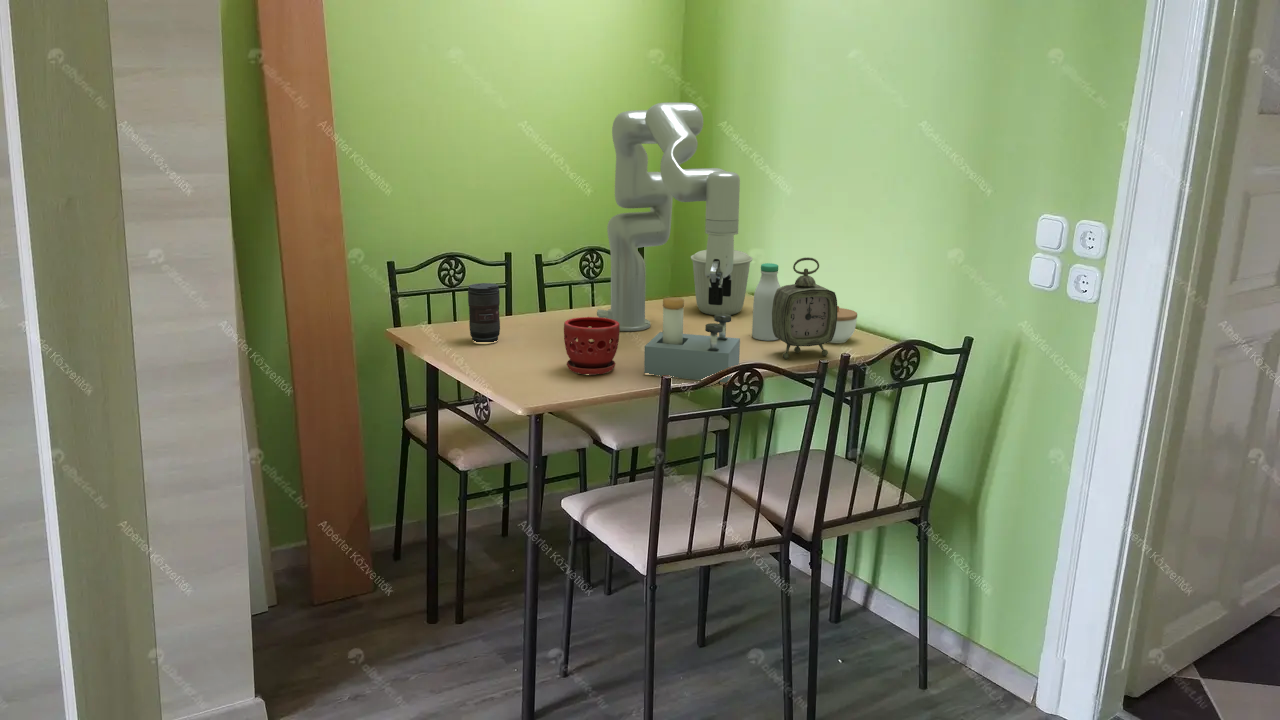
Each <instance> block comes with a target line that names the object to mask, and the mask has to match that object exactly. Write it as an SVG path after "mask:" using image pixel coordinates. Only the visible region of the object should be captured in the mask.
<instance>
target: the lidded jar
mask: <svg viewBox="0 0 1280 720" xmlns="http://www.w3.org/2000/svg"><path fill="white" fill-rule="evenodd" d="M857 318H858V312H856V311H854V310H853V309H849V308H843V307H840V306H839V305H837V323H836V330H835V334H834V337H833V339H832V341H830V342H828V343H829V344H844V343H846V342H847V341H848V340H849V339H850V338H851V337H852V336H853V334H854V332H855V330H856V326H857Z"/></svg>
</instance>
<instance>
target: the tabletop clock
mask: <svg viewBox="0 0 1280 720" xmlns="http://www.w3.org/2000/svg"><path fill="white" fill-rule="evenodd" d="M804 261H812V262H814V263H815V264H816V265H817V267H816V268H815V269H813V270H811V271H810V270H809V269H808V268H804V269H803V271H800V270H797V269H796V265H797V264H799V263H800V262H804ZM792 269H793V271H794V272H795V273H796V274H798V275H799V276H798V277H797V278H796V279H795V282H794V283H792V284H786V285H783V286H780V288H778V289H777V291H776V293H775V296H774V300H773V308H772V328H773V333H774V335H775V337H777V338H778V340H780V341H782V342H783V343H785V344H786V348H785V352H784V353H783V354H782V357H783V359H784V360H786V359H789V358H790V354H789V350H790V348H791V347H794V349H793V351H794V352H795V353H796V354H799V353H800V352H801V347H813V346H819V347H820V349H821V355H822V356H823V357H825V356H826V357H827V356H828V354H829V351H828V350H827V349H825V348H824V345H825V344H828V343H829V342H830V341H832V339H833V337H834V334H835V330H836V323H837V306H838V299H837V294H836V292H835V291H833V290H831V289H828V288H825V286H821V285H819V284H816V280H815V279H814V277H812V276H811V275H812V274H814V273H816V272H817V271H818V270H819V269H820V262H819V261H818V260H817V259H816V258H813V257H802V258H799V259H797V260H796V261H795V262H793V266H792Z"/></svg>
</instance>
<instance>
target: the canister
mask: <svg viewBox="0 0 1280 720" xmlns="http://www.w3.org/2000/svg"><path fill="white" fill-rule="evenodd" d="M706 251H707V249H704V250H699V251H697V252H696V253H694V254H692V255H690V260H691V262H692V267H693V279H694V280H693V281H694V290H695V302H696V306H697V308H698V310H699V311H700V312H701V313H703V314H706V315H711V316H715V315H716V314H729V315H731V316H733V315H736V314H738V313H740V312H741V311H742V309H743V307H744V303H745V297H746V292H747V287H748V286H747V285H748V281H749V280H748V278H749V272H750V265H751V262H752V261H753V256H751V255H749V254H748V253H747V252H744V251H741V250H738V249H737V250H735V249H734V260H733V270H732V272H731V279H729V280H731V296H730V297H726V296H723V304H722V305H710V304H709V303H708V300H709V282H710V276H709V277H706V276H705V266H706Z"/></svg>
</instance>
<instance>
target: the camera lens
mask: <svg viewBox="0 0 1280 720" xmlns="http://www.w3.org/2000/svg"><path fill="white" fill-rule="evenodd" d="M499 288H500V287H499V285H498V284H496V283H490V282H488V283H486V282H484V283H483V282H481V283H473V284H470V285H469V284H468V289H467V301H468V316H469V319H468V320H469V333H470V337H471V341H472V340H474V341H476V342H494V341H497V340H498V341H499V336H500V330H501V320H500V299H501V298H500V289H499ZM498 341H497V342H498Z"/></svg>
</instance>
